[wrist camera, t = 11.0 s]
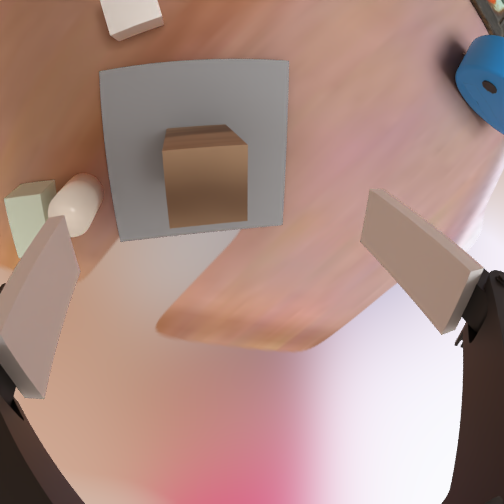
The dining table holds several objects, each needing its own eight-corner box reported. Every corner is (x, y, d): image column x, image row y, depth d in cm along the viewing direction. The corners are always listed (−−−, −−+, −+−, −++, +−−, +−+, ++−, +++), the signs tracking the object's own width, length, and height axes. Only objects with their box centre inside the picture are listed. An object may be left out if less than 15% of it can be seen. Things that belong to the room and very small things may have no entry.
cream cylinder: (61, 176, 25) (43, 195, 21) (100, 170, 26) (86, 188, 22) (69, 215, 27) (54, 239, 23) (106, 210, 28) (96, 234, 24)
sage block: (21, 183, 24) (3, 198, 21) (55, 179, 25) (40, 194, 22) (32, 237, 27) (18, 258, 24) (64, 235, 28) (53, 256, 25)
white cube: (108, 4, 18) (98, -7, 15) (152, -12, 18) (149, -26, 15) (119, 41, 20) (110, 35, 17) (164, 25, 21) (162, 16, 17)
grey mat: (101, 71, 21) (99, 71, 21) (285, 61, 24) (289, 60, 24) (121, 237, 30) (120, 241, 29) (279, 220, 33) (282, 225, 32)
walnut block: (166, 128, 25) (162, 151, 17) (225, 124, 26) (247, 144, 18) (170, 183, 27) (169, 228, 20) (226, 178, 28) (247, 221, 21)
